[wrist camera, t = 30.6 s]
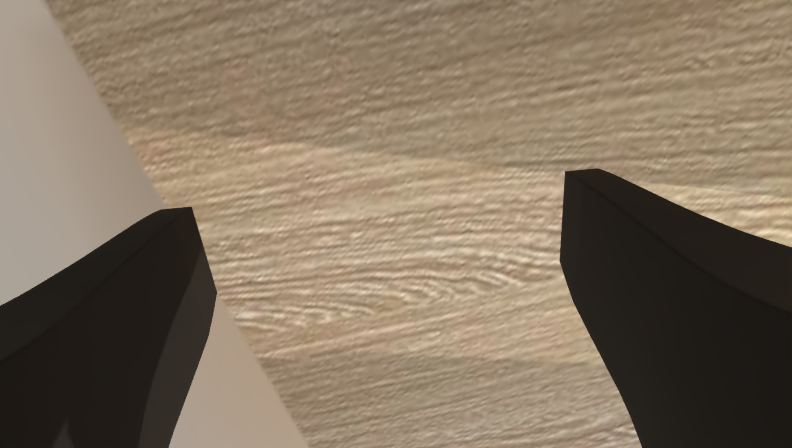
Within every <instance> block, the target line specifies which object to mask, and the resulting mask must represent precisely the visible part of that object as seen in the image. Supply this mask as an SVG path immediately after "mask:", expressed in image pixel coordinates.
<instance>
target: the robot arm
mask: <svg viewBox="0 0 792 448" xmlns="http://www.w3.org/2000/svg"><path fill="white" fill-rule="evenodd" d="M560 263H561V266H562V270H563V273H564V276H565V279H566V282H567V285H568V288H569V291H570V294H571V297H572V299H573V302H574V304H575V306H576V308H577V310H578V312H579V314H580V316H581V318H582V320H583V322H584V324H585V326H586V328H587V330H588V332H589V334H590V336H591V338H592V340H593V342H594V344H595V346H596V348H597V350H598V351H599V353H600V355H601V357H602V359H603V361H604V363H605V365H606V367H607V369H608V371H609V373H610V375H611V377H612V379H613V381H614V382H615V384H616V386H617V388H618V390H619V392H620V394H621V396H622V399H623V401H624V403H625V405H626V407H627V410H628V412H629V414H630V417H631V419H632V422H633V425H634V427H635V430H636V432H637V435H638V438H639V440H640V443H641V446H642V448H792V247H788V246H785V245H782V244H779V243H776V242H773V241H770V240H767V239H764V238H761V237H757V236H754V235H751V234H748V233H746V232H743V231H740V230H737V229H735V228H732V227H729V226H727V225H724V224H722V223H720V222H717V221H715V220H712V219H710V218H707V217H705V216H702V215H700V214H698V213H695V212H693V211H691V210H688V209H686V208H684V207H682V206H679V205H677V204H675V203H673V202H671V201H669V200H667V199H664V198H662V197H660V196H658V195H656V194H654V193H652V192H650V191H648V190H646V189H644V188H641V187H639V186H637V185H635V184H633V183H631V182H629V181H627V180H625V179H623V178H620V177H618V176H616V175H614V174H611V173H609V172H606V171H604V170H601V169H586V170H576V171H565V183H564V199H563V216H562V232H561V248H560ZM216 295H217V291H216V287H215V284H214V281H213V277H212V274H211V270H210V267H209V264H208V260H207V257H206V254H205V250H204V247H203V244H202V240H201V237H200V233H199V230H198V227H197V223H196V220H195V217H194V213H193V210H192V207H183V208H173V209H162V210H159V211H157V212H154V213H152V214H150V215H149V216H147V217H145V218H143V219H142V220H140V221H138V222H137V223H135V224H133V225H132V226H130V227H129V228H127V229H126V230H124V231H123V232H121V233H120V234H118V235H117V236H115V237H113V238H112V239H110V240H109V241H107V242H106V243H104V244H103V245H101V246H100V247H98V248H97V249H95V250H94V251H92V252H91V253H89V254H88V255H86V256H85V257H83V258H81V259H80V260H78V261H77V262H75V263H73V264H72V265H70V266H69V267H67V268H65V269H64V270H62V271H60V272H59V273H57V274H55V275H54V276H52V277H50V278H49V279H47V280H45V281H44V282H42V283H40V284H39V285H37V286H35V287H34V288H32V289H31V290H29V291H27V292H25V293H23V294H21V295H20V296H18V297H16V298H14V299H13V300H11V301H9V302H7V303H5V304H3V305H1V306H0V448H168V447H169V444H170V441H171V438H172V435H173V432H174V429H175V426H176V423H177V421H178V418H179V416H180V413H181V410H182V407H183V405H184V402H185V399H186V396H187V394H188V391H189V388H190V386H191V383H192V380H193V377H194V375H195V372H196V370H197V367H198V364H199V361H200V358H201V356H202V353H203V350H204V347H205V344H206V342H207V339H208V336H209V331H210V327H211V322H212V317H213V312H214V307H215V300H216Z"/></svg>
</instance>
